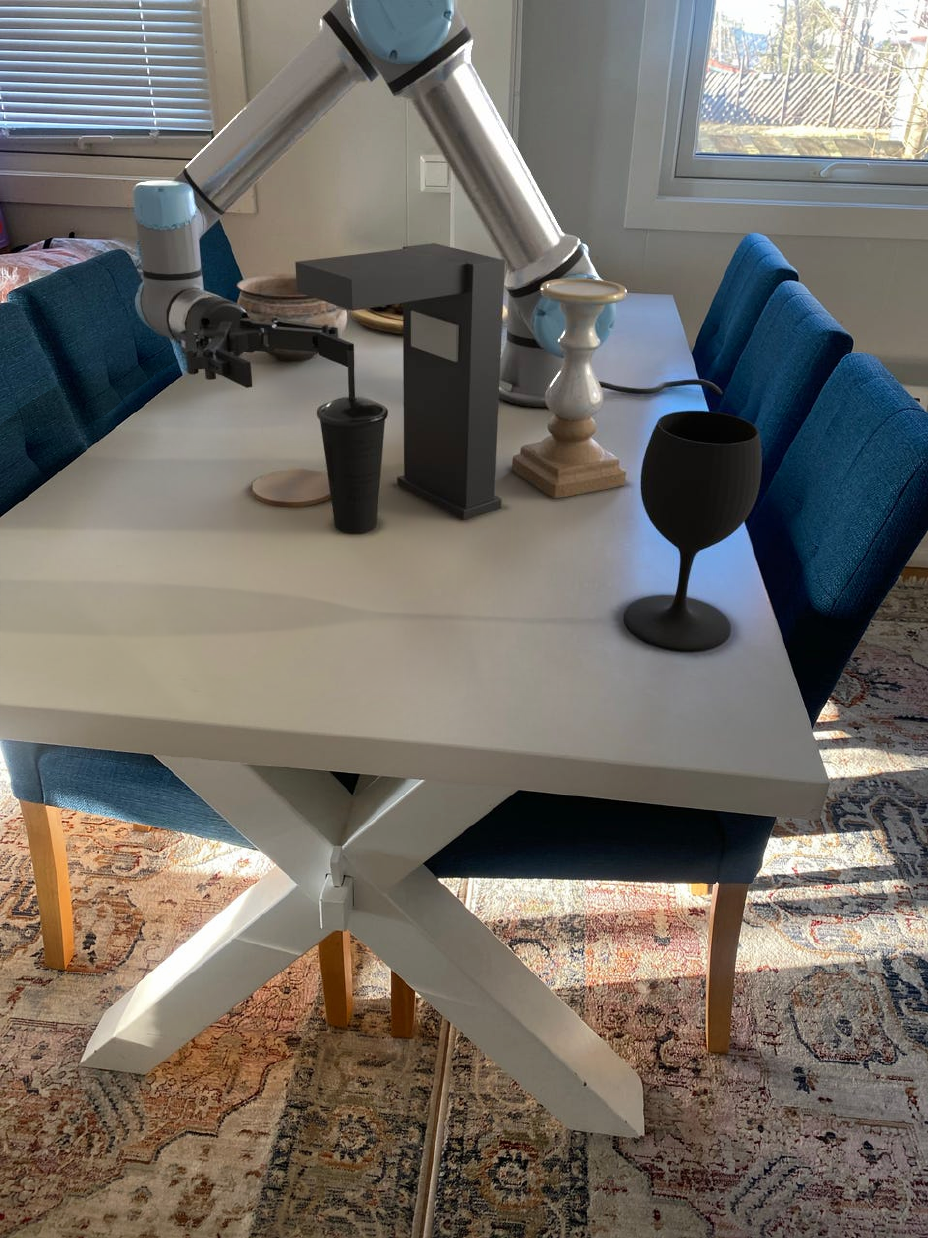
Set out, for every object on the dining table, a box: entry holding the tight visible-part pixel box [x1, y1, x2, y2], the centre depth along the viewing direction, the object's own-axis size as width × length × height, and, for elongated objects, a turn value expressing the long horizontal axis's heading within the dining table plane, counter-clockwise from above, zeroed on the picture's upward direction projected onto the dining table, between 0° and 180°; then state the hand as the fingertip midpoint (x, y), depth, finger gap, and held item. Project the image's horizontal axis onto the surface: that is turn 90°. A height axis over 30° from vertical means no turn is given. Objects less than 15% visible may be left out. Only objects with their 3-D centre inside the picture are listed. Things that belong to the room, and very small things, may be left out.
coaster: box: [251, 468, 331, 508], centre depth 120 cm, size 10×10×1 cm
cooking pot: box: [236, 273, 348, 362], centre depth 168 cm, size 25×19×12 cm
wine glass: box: [623, 410, 763, 653], centre depth 90 cm, size 10×10×20 cm
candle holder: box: [511, 278, 628, 499], centre depth 120 cm, size 11×11×24 cm
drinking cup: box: [316, 350, 389, 535], centre depth 107 cm, size 8×8×20 cm
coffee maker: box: [294, 242, 506, 521], centre depth 109 cm, size 20×13×28 cm, turn 130°
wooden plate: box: [349, 303, 508, 335], centre depth 195 cm, size 32×32×8 cm
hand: (302, 365), depth 110 cm, fingers open, 13 cm apart
